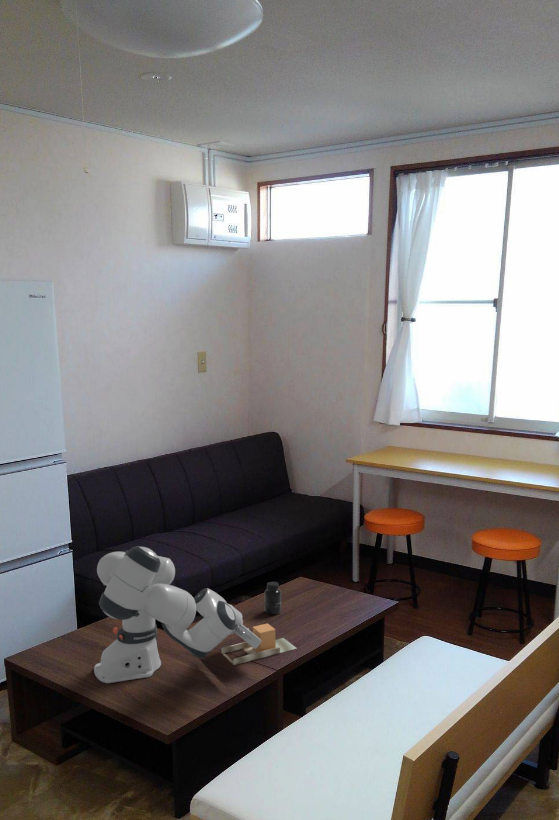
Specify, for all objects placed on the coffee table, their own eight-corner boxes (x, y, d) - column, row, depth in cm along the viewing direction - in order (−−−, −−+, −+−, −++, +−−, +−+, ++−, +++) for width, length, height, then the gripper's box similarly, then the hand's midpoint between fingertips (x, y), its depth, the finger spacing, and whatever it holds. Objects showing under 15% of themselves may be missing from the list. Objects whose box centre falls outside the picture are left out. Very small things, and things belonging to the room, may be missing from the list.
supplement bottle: (281, 615, 285) (280, 586, 284) (264, 615, 285) (263, 586, 284) (281, 608, 292) (281, 580, 291) (265, 608, 292) (264, 580, 291)
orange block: (260, 654, 247) (260, 633, 246) (252, 648, 252) (252, 626, 251) (275, 651, 250) (275, 629, 249) (267, 644, 255) (267, 623, 254)
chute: (234, 669, 240) (233, 659, 240) (221, 657, 249) (221, 647, 248) (297, 652, 252) (297, 643, 252) (283, 641, 261) (283, 632, 260)
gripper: (248, 624, 235) (274, 645, 240) (223, 603, 252) (248, 624, 258) (236, 639, 233) (263, 661, 239) (212, 618, 251) (237, 638, 257)
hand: (255, 642), depth 249 cm, fingers closed, pressing on orange block
